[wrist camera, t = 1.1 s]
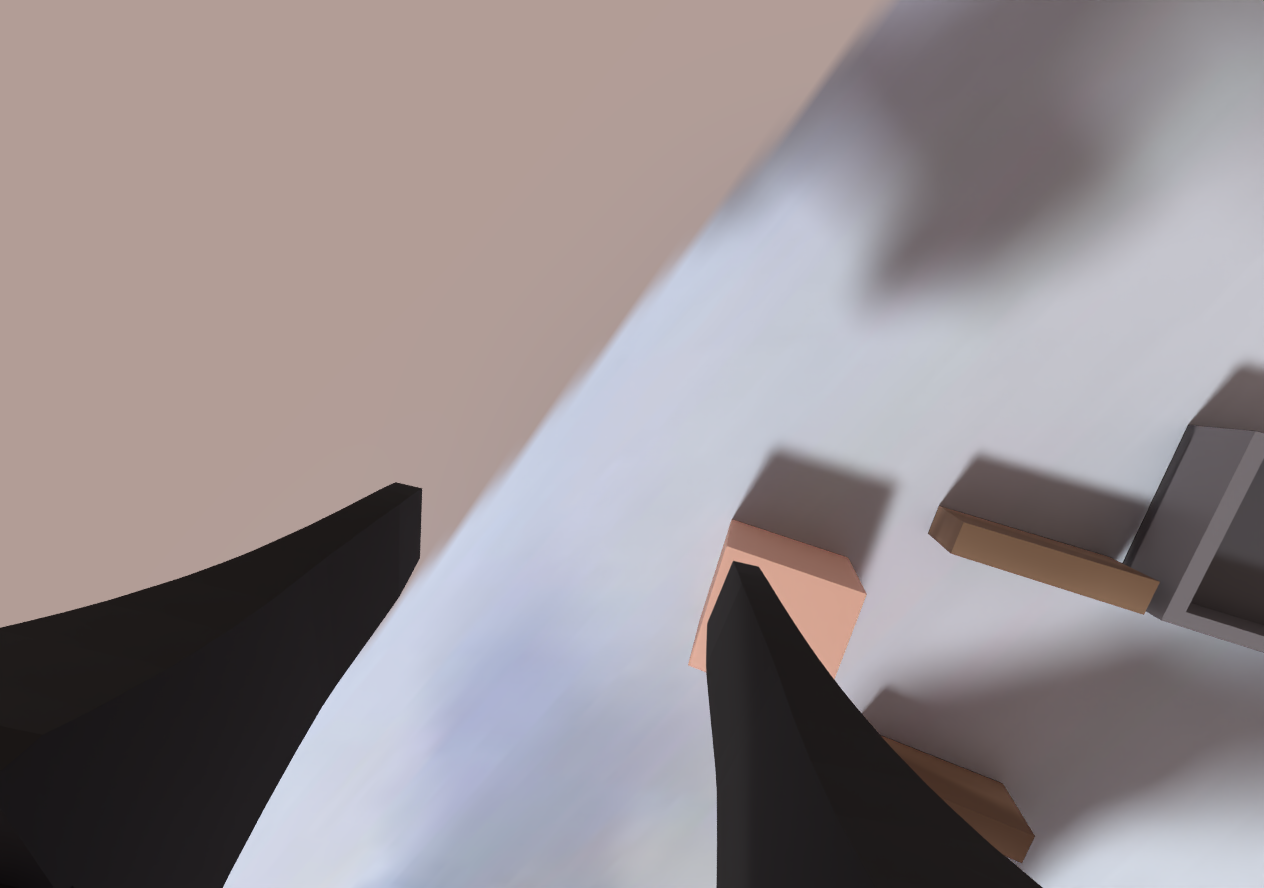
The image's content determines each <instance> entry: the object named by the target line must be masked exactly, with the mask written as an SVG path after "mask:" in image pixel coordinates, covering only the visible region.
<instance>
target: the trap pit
mask: <svg viewBox="0 0 1264 888" xmlns="http://www.w3.org/2000/svg"><path fill="white" fill-rule="evenodd" d="M1123 564H1125V565H1127V566H1129V567H1131V568H1133V569H1135V570H1137V571H1139V572H1141V573H1143V574H1145V575H1147V576H1149V577H1151V578H1153V579H1155V580H1157V581H1159V582H1160V583H1159V585H1158V587H1157V589H1156V591H1155V593H1154V595H1153V597H1152V599H1151V601H1150V603H1149V605H1148V607H1147V609H1146V612H1148V613H1150V614H1152V615H1153V616H1155V617H1157V618H1158V619H1160V620H1162V621H1165V622H1169V623H1172V624H1175V625H1178V626H1181V627H1184V628H1188V629H1191V630H1194V631H1197V632H1200V633H1203V634H1207V635H1210V636H1213V637H1216V638H1219V639H1222V640H1225V641H1229V642H1232V643H1235V644H1238V645H1241V646H1244V647H1248V648H1251V649H1254V650H1257V651H1260V652H1263V653H1264V433H1261V432H1257V431H1248V430H1237V429H1227V428H1216V427H1205V426H1194V425H1188V427H1187V430H1186V432H1185V434H1184V436H1183V438H1182V440H1181V442H1180V444H1179V446H1178V449H1177V451H1176V453H1175V455H1174V457H1173V459H1172V461H1171V463H1170V465H1169V468H1168V470H1167V472H1166V474H1165V476H1164V478H1163V480H1162V482H1161V484H1160V487H1159V489H1158V491H1157V493H1156V495H1155V497H1154V499H1153V501H1152V503H1151V506H1150V508H1149V510H1148V512H1147V514H1146V516H1145V518H1144V520H1143V522H1142V525H1141V527H1140V529H1139V531H1138V533H1137V535H1136V537H1135V539H1134V541H1133V543H1132V546H1131V548H1130V550H1129V552H1128V554H1127V556H1126V558H1125V560H1124V562H1123Z"/></svg>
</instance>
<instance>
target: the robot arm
mask: <svg viewBox="0 0 1264 888" xmlns="http://www.w3.org/2000/svg"><path fill="white" fill-rule="evenodd" d="M421 503H422V488H418V487H413V486H409V485H405V484H400V483H393V484H391V485H389V486H386V487H384V488H382V489H380V490H378V491H376V492H374V493H373V494H371V495H369V496H367V497H365V498H363V499H361V500H359V501H357V502H355V503H353V504H351V505H349V506H347V507H345V508H343V509H341V510H340V511H337V512H335V513H333V514H331V515H329V516H327V517H325V518H323V519H321V520H319V521H317V522H315V523H313V524H311V525H309V526H307V527H305V528H303V529H300V530H299V531H296V532H294V533H292V534H289V535H287V536H285V537H283V538H281V539H278V540H276V541H274V542H272V543H269V544H267V545H265V546H263V547H260V548H258V549H256V550H254V551H251V552H249V553H246V554H244V555H241V556H239V557H236V558H234V559H231V560H229V561H226V562H223V563H221V564H218V565H216V566H212V567H210V568H207V569H204V570H202V571H199V572H197V573H193V574H191V575H188V576H185V577H182V578H179V579H176V580H173V581H169V582H166V583H163V584H160V585H157V586H153V587H150V588H147V589H144V590H141V591H138V592H134V593H131V594H128V595H124V596H121V597H118V598H115V599H111V600H108V601H104V602H101V603H97V604H93V605H90V606H86V607H83V608H79V609H75V610H71V611H67V612H64V613H60V614H56V615H51V616H48V617H44V618H39V619H35V620H31V621H27V622H23V623H19V624H15V625H10V626H6V627H2V628H0V888H223V886H224V884H225V882H226V880H227V878H228V876H229V874H230V872H231V870H232V868H233V866H234V864H235V863H236V861H237V859H238V857H239V855H240V853H241V851H242V849H243V847H244V846H245V844H246V842H247V840H248V838H249V836H250V834H251V832H252V830H253V829H254V827H255V825H256V823H257V821H258V819H259V817H260V815H261V814H262V812H263V810H264V808H265V806H266V804H267V802H268V801H269V799H270V797H271V795H272V793H273V792H274V790H275V788H276V786H277V784H278V783H279V781H280V779H281V777H282V776H283V774H284V772H285V770H286V768H287V767H288V765H289V763H290V761H291V759H292V758H293V756H294V754H295V752H296V751H297V749H298V747H299V745H300V744H301V742H302V740H303V739H304V737H305V735H306V733H307V732H308V730H309V728H310V727H311V725H312V723H313V721H314V720H315V718H316V716H317V715H318V713H319V711H320V709H321V708H322V706H323V705H324V703H325V702H326V700H327V698H328V697H329V695H330V694H331V692H332V691H333V689H334V688H335V686H336V685H337V683H338V682H339V681H340V679H341V678H342V676H343V675H344V674H345V672H346V671H347V669H348V668H349V667H350V665H351V664H352V663H353V661H354V660H355V658H356V657H357V656H358V654H359V653H360V651H361V650H362V649H363V647H364V646H365V644H366V643H367V642H368V640H369V639H370V637H371V636H372V635H373V633H374V632H375V630H376V629H377V628H378V626H379V625H380V623H381V622H382V621H383V619H384V618H385V616H386V615H387V613H388V612H389V611H390V609H391V608H392V606H393V605H394V603H395V602H396V601H397V599H398V598H399V596H400V594H401V592H402V591H403V589H404V587H405V585H406V583H407V581H408V579H409V577H410V576H411V574H412V572H413V570H414V568H415V566H416V564H417V562H418V560H419V559H420V537H421V505H422V504H421ZM706 673H707V685H708V696H709V706H710V716H711V727H712V737H713V747H714V757H715V768H716V785H717V888H1042V887H1041V886H1040V885H1039V884H1037V883H1036V882H1035V881H1034V880H1033V879H1032V878H1030V877H1029V876H1028V875H1027V874H1026V873H1024V872H1023V871H1022V870H1021V869H1020V868H1018V867H1017V866H1016V865H1015V864H1014V863H1013V862H1011V861H1010V860H1009V859H1008V858H1007V857H1005V856H1004V855H1003V854H1002V853H1001V852H999V851H998V850H997V849H996V848H995V847H994V846H992V845H991V844H990V843H989V842H988V841H987V840H986V839H985V838H983V837H982V836H981V835H980V834H979V833H978V832H977V831H976V830H975V829H974V828H973V827H971V826H970V825H969V824H968V823H967V822H966V821H965V820H964V819H963V818H962V817H961V816H960V815H958V814H957V813H956V812H955V811H954V810H953V809H952V808H951V807H950V806H949V805H948V804H947V803H946V802H945V801H944V800H943V799H942V798H940V797H939V796H938V795H937V794H936V793H935V792H934V791H933V790H932V789H931V788H930V787H929V786H928V785H927V784H926V783H925V782H924V781H923V780H922V779H921V778H920V777H919V776H918V775H917V774H916V773H915V772H914V771H913V770H912V768H911V767H910V766H909V765H908V764H907V763H906V762H905V761H904V760H903V759H902V758H901V757H900V756H899V755H898V754H897V753H896V752H895V751H894V750H893V749H892V748H891V747H890V745H889V744H888V743H887V742H886V741H885V740H884V739H883V738H882V737H881V736H880V734H879V733H878V732H877V731H876V730H875V729H874V728H873V726H872V725H871V724H870V723H869V722H868V720H867V719H866V718H865V717H864V716H863V715H862V713H861V712H860V711H859V710H858V709H857V708H856V706H855V705H854V704H853V703H852V702H851V700H850V699H849V698H848V697H847V695H846V694H845V693H844V692H843V690H842V689H841V688H840V687H839V685H838V684H837V683H836V681H835V680H834V679H833V677H832V676H831V675H830V673H829V672H828V671H827V669H826V668H825V666H824V665H823V664H822V662H821V661H820V660H819V658H818V657H817V655H816V654H815V653H814V651H813V650H812V648H811V647H810V645H809V644H808V643H807V641H806V640H805V638H804V637H803V635H802V634H801V632H800V631H799V629H798V628H797V626H796V625H795V623H794V622H793V620H792V618H791V617H790V615H789V614H788V612H787V611H786V609H785V607H784V606H783V604H782V603H781V601H780V600H779V598H778V596H777V595H776V593H775V591H774V590H773V588H772V587H771V585H770V583H769V582H768V580H767V579H766V577H765V575H764V574H763V572H762V571H761V569H760V568H759V567H758V566H754V565H750V564H745V563H741V562H737V561H733V562H732V564H731V567H730V569H729V572H728V574H727V576H726V579H725V581H724V584H723V586H722V589H721V591H720V593H719V596H718V598H717V601H716V603H715V606H714V608H713V610H712V613H711V615H710V618H709V620H708V623H707V640H706Z"/></svg>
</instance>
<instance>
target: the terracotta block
mask: <svg viewBox="0 0 1264 888" xmlns="http://www.w3.org/2000/svg"><path fill="white" fill-rule="evenodd" d="M733 561H737V562H741V563H745V564H750V565H754V566H758V567H759V568H760V569H761V571H762V572H763V574H764V575H765V577H766V579H767V580H768V582H769V583H770V585H771V587H772V588H773V590H774V591H775V593H776V595H777V596H778V598H779V600H780V601H781V603H782V604H783V606H784V607H785V609H786V611H787V612H788V614H789V615H790V617H791V618H792V620H793V622H794V623H795V625H796V626H797V628H798V629H799V631H800V632H801V634H802V635H803V637H804V638H805V640H806V641H807V643H808V644H809V645H810V647H811V648H812V650H813V651H814V653H815V654H816V655H817V657H818V658H819V660H820V661H821V662H822V664H823V665H824V666H825V668H826V669H827V671H828V672H829V673H830V675H831V676H832V677H833V679H835V676H836V674H837V671H838V668H839V666H840V663H841V660H842V658H843V655H844V653H845V650H846V647H847V645H848V642H849V639H850V637H851V634H852V631H853V629H854V626H855V624H856V621H857V618H858V616H859V613H860V610H861V608H862V605H863V602H864V600H865V597H866V595H867V594H866V592H865V590H864V588H863V586H862V584H861V582H860V580H859V578H858V576H857V574H856V572H855V570H854V569H853V567H852V565H851V563H850V561H849V559H848V557H845V556H842V555H839V554H836V553H833V552H830V551H827V550H824V549H820V548H817V547H814V546H811V545H808V544H805V543H802V542H799V541H796V540H793V539H790V538H787V537H784V536H781V535H778V534H775V533H772V532H769V531H766V530H763V529H760V528H757V527H754V526H751V525H748V524H745V523H742V522H739V521H736V520H733V519H732V520H731V523H730V526H729V530H728V533H727V536H726V539H725V542H724V545H723V548H722V552H721V555H720V558H719V561H718V564H717V567H716V570H715V574H714V577H713V580H712V583H711V586H710V589H709V592H708V596H707V599H706V602H705V605H704V608H703V611H702V614H701V618H700V621H699V625H698V629H697V633H696V636H695V640H694V644H693V648H692V652H691V656H690V660H689V664H688V665H689V666H691V667H694V668H697V669H699V670H702V671H704V672H706V640H707V623H708V620H709V618H710V615H711V613H712V610H713V608H714V606H715V603H716V601H717V598H718V596H719V593H720V591H721V589H722V586H723V584H724V581H725V579H726V576H727V574H728V572H729V569H730V567H731V564H732V562H733Z"/></svg>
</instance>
